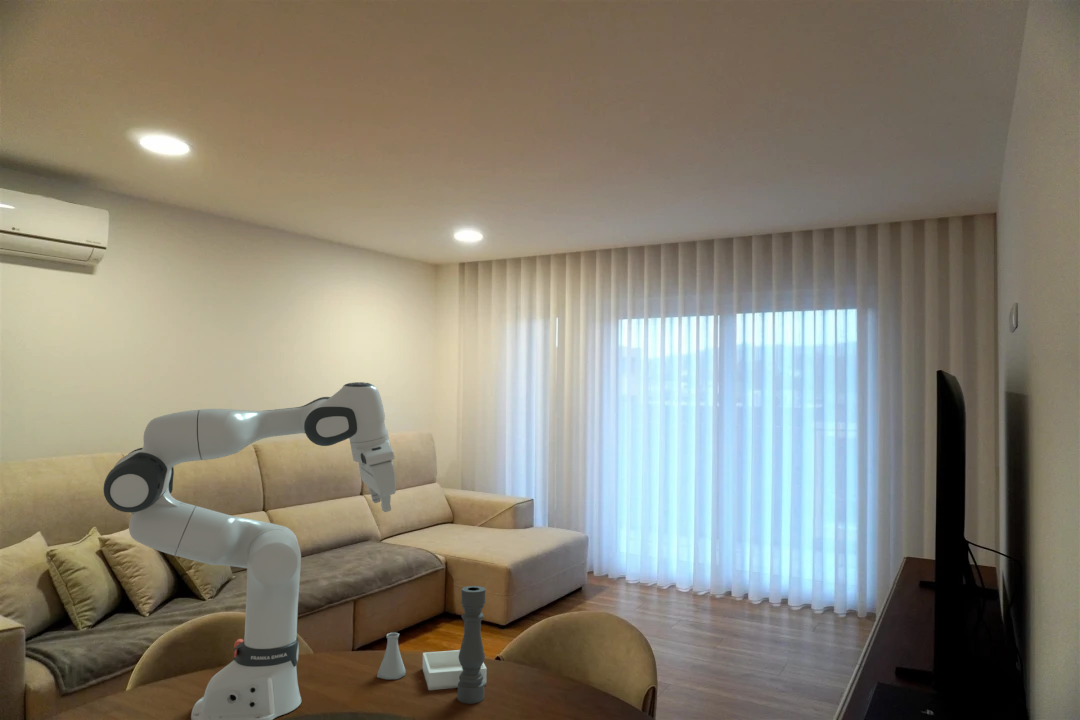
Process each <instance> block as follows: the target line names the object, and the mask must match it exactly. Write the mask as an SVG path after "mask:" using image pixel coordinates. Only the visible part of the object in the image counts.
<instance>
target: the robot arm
mask: <svg viewBox="0 0 1080 720" xmlns="http://www.w3.org/2000/svg"><path fill="white" fill-rule="evenodd" d="M385 418H386V414H385V411H384V405H383V400H382V397H381V394H380V391H379V389H378V387H376V386H375V385H374V384H372V383H369V382H361V381H360V382H348V383H346V384H344V385H342V387H341V388H339V390H338V391H337V392H335V393H334V394H333V395H332V396H322V397H318V398H316V399H314V400H312V401H310V402H309V403H306V404H304V405H302V406H298V407H297V406H296V407H287V408H279V409H276V408H275V409H268V410H267V409H266V410H244V409H232V408H204V409H203V408H202V409H192V410H191V409H190V410H185V411H179V412H174V413H170V414H169V413H168V414H165V415H161V416H157V417H154V418H153V419H151V420H150V421H149V422H148V423H147V425H146V427H145V430H144V431H143V447H139V448H136V449H134V450H132V451H130V452H129V453H127V455H125V456H123V457H121V459H119V460H118V462H116V463H115V465H114V466H113V468H112V469H110V471H109V472H108V474H107V475H106V477H105V480H104V483H103V495H104V498H105V500H106V502H107V504H109V506H111V507H112V508H113V509H115V510H117V511H120V512H122V513H131V517H130V519H129V522H128V531H129V532H128V533H129V536H130V537H131V539H132V540H134V541H136V542H137V543H140V544H142V545H144V546H146V547H148V548H151V549H153V550H156V551H158V552H160V553H161V552H162V553H165V554H168V555H170V556H175V557H178V558H179V557H180V558H184V559H187V560H191V561H195V562H199V563H203V564H207V565H211V566H227V567H236V568H243V569H246V593H245V594H246V595H245V596H246V597H245V598H246V599H245V617H244V618H245V622H244V637H243V638H244V639H243V638H237V640H236V641H235V642H234V645H233V648H234V649H233V660H232V661H231V662H230V663H228V664H227V665H226V666H224V667H223V668H221V670H219V671H218V672H217V673H215V674H214V675H213V676H212V677H211V678H210V679H209V681H208V683H207V684H206V687H205V691H204V694H203V696H202V697H201V698H200V699H198V700H197V701H196V702H195V704H194V705H193V707H192V709H191V715H190V720H274V719H275V718H278V717H280V716H282V715H286V714H288V713H291V712H292V711H294V710H296V709H297V708H298V707H299V706H300V705H301V703H302V697H301V693H300V689H299V683H298V682H299V681H298V673H297V671H298V670H297V665H298V661H299V651H300V650H299V648H300V646H299V645H300V644H299V638H298V636H297V631H298V613H299V611H298V609H299V608H298V607H299V596H300V595H299V594H300V581H301V567H302V565H301V563H302V552H301V548H300V547H301V546H300V544H299V541H298V540H299V539H298V537H297V536H296V534H295V532H293V530H292V529H291V528H289V527H287V526H285V525H280V524H276V523H272V522H267V521H261V520H257V519H251V518H246V517H239V516H235V515H230V514H227V513H223V512H220V511H217V510H213V509H209V508H205V507H202V506H198V505H194V504H191V503H186V502H183V501H180V500H178V499H176V498H174V497H173V496H172V494H171V493H172V492H173V486H174V475H175V474H174V473H175V472H174V471H175V470H174V467H176V466H177V465H178V464H182V463H188V462H195V461H196V462H197V461H207V460H215V459H220V458H225V457H228V456H232V455H236V454H238V453H239V452H240V451H242V450H244V449H245V448H247V447H248V446H250V445H252V444H254V443H255V442H258V441H260V440H263V439H267V438H273V437H280V436H281V437H282V436H289V435H298V434H305V435H306V437H307V439H308V440H309V441H310V442H311V443H313V444H315V445H317V446H321V447H329V446H333V445H336V444H338V443H340V442H343V441H346V440H348V439H349V444H350V449H351V454H352V458H353V459H352V460H353V462H355V463H358V468H359V474H360V479H361V481H362V482H363V483H364V484H365V485H366V486H367V487H368V490H369V493H370V496H371V500H372V502H373V503H374V504H378V503H380V502H381V504H380V506H381V510H382V511H383V513H388V512H391V511H392V506H391V499H392V498H391V497H392V495H395V494H396V491H397V483H396V481H397V480H396V474H395V466H394V465H395V464H394V463H393V461H394V460H395V457H396V456H395V452H394V450H393V448H392V446H391V442H390V437H389V433H388V430H387V428H386V424H385V420H386V419H385Z"/></svg>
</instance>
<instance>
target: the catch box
mask: <svg viewBox="0 0 1080 720" xmlns="http://www.w3.org/2000/svg"><path fill="white" fill-rule="evenodd" d="M459 652H460V649H456V650H455V649H454V650H444V651H442V650H441V651H427V652H422V669H421V670H422V672H423V676H424V679H425V682H426V686H427V690H428V691H435V690H446V689H447V690H448V689H456V688H457V689H458V682H459V681H460V680H459V676H460V675H461V673H462V671H463V670H462V666H461V664H460V662H459ZM484 662H485V661H484ZM484 662H483V664H482V665H481V669H480V672H481V674H482V675H483V680H482V681H484V686H487V671H488V668H487V666H486V664H485V663H484Z"/></svg>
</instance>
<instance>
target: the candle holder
mask: <svg viewBox="0 0 1080 720" xmlns="http://www.w3.org/2000/svg"><path fill="white" fill-rule="evenodd" d="M486 593H487V591H486V588H485V587H484V586H479V585H469V586H468V585H467V586H464V587H462V588H461V591H460V596H461V598H460V599H461V600H460V603H461V606H462V609H463V611H464V612H463V614H461V618H462V620H463V622H464V624H463V625H464V627H463V637H462V640H461V641H462V642H461V645H460V648H459V650H460V652H459V662H460V664H461V666H462V670H463V671H462V673H461V675H460V676H459V680H460V681H459V682H458V688H457V693H456V694H457V700H458V702H460V703H462V704H467V705H470V704H471V705H473V704H478V703H480V702H482V701H484V699H485V685H484V681H482V680H483V675H482V674H481V672H480V669H481V665H482V664H483V662H485V660H486V659H485V658H486V655H485V649H484V645H483V639H482V631H481V630H482V628H481V626H482V625H481V624H482V620H483V619H484V618H485V615H484V613H483V612H482V611H483V608H484V607H485V604H486Z"/></svg>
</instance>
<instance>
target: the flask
mask: <svg viewBox="0 0 1080 720" xmlns="http://www.w3.org/2000/svg"><path fill="white" fill-rule="evenodd" d="M399 637H400V633H398V632H390V633H387V634H386V639H387V641H386V642H387V643H386V649H385V652H384V656H383V658H382V661H381V664H380V666H379V668H378V671H377V675H376V678H378V679H383V680H399V679H400V678H403V677H405V676H406V672H407V670H406V668H405V665H404V662H403V658H402V654H401V651H400V647H399Z"/></svg>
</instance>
